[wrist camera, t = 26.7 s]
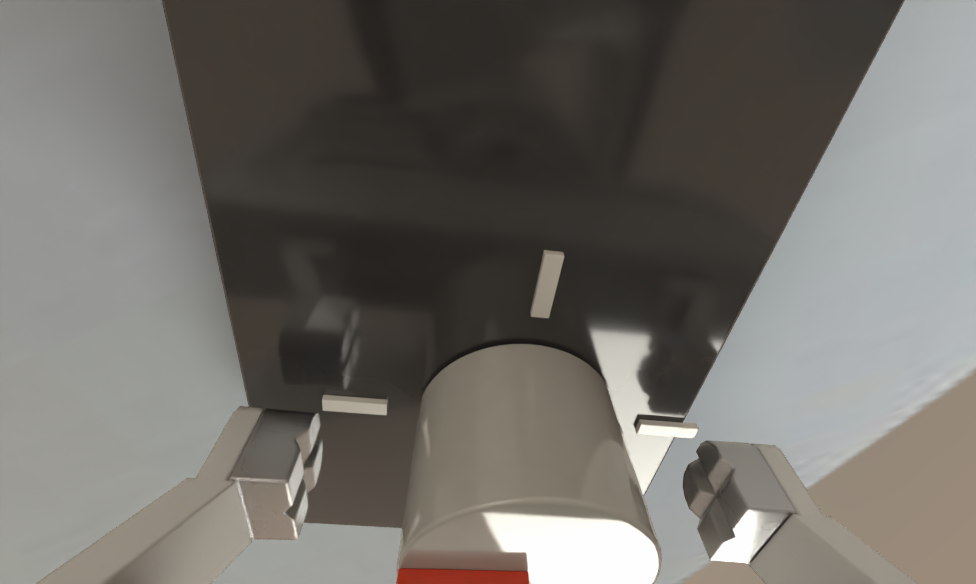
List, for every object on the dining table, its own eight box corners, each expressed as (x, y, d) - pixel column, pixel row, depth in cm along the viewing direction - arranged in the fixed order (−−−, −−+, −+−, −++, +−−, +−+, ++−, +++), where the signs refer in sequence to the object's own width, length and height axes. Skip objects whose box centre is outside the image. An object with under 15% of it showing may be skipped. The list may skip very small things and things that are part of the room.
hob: (608, 456, 16) (632, 547, 14) (305, 434, 15) (270, 527, 13) (810, -24, 9) (953, -25, 6) (236, -120, 8) (113, -171, 5)
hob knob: (633, 347, 10) (709, 526, 6) (590, 478, 12) (630, 655, 9) (418, 335, 9) (388, 517, 6) (418, 472, 12) (396, 652, 9)
